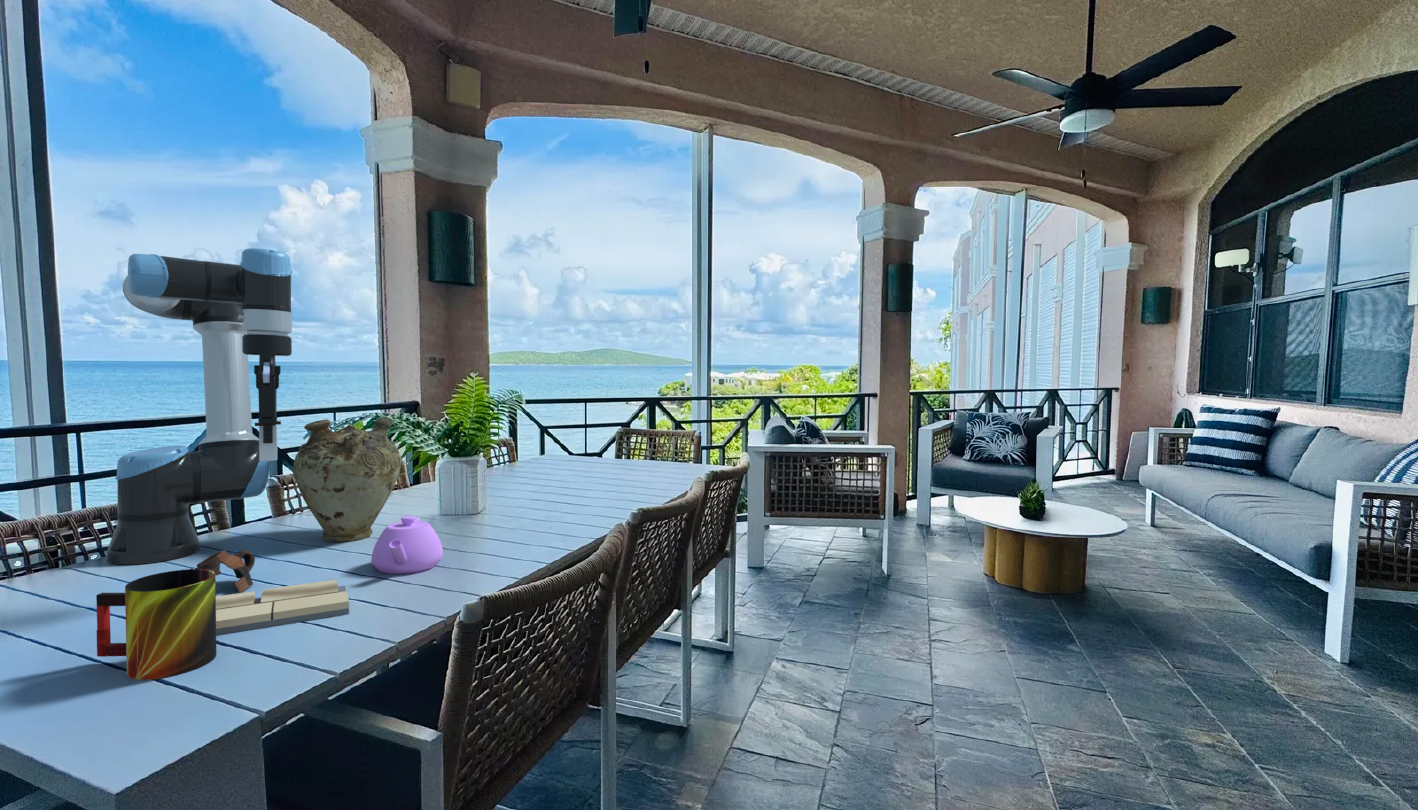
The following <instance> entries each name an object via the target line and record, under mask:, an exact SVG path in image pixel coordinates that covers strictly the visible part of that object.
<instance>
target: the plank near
mask: <svg viewBox="0 0 1418 810" xmlns="http://www.w3.org/2000/svg"><path fill="white" fill-rule="evenodd" d="M255 598H256V590H254V591H248V592H245V591H244V592H242V593H239V592H237V593H232V594H222V595H216V610H219V609H226V608H233V607H240V606H247V605H254V603H255Z"/></svg>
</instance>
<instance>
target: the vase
mask: <svg viewBox="0 0 1418 810" xmlns="http://www.w3.org/2000/svg"><path fill="white" fill-rule="evenodd" d="M330 424H331V420H330V419H327V418H326V419H322V420H321V419H320V420H316V421H312V422H308V423H307V424H305V425H304V426H303V427H304V429H305V430H306V431H308V432H310V435H309V437H308V439H307V441H306V442H305V443H302V444H301V446H300V447H299V448H298V452H297V453H296V455H295V457H294V460H293V466H292V467H293V468H292V475H293V478H294V480H295V481H296V485H297V487H298V490H299V493H300V495H301V497H302V498H303V501H304V502H305V504H306V506H307V507H308V510H310V513H311V514H312V515H313V517H314V518H315V520H316V521H317V522H318V524H319V525H320V527H321V529H322V530H323V532H322V535H321V537H322V539H323V540H324V541H326V542H331V543H344V542H353V541H360V540H362V539H366V538H368V537H371V536H372V534H373V529H372V526H373V525H374V523H375V522H376V519H377V518H378V516H379V514H380V513H381V511H382V509H383V508H384V506H385V505H386V503H387V501H388V500H389V498H390V496H391V494H392V491H393V490H394V488H395V486H396V484H397V480H398V477H399V475H400V473H401V470H402V469H401V468H402V458H401V455H400V451H399V449H398V448H397V445H395V441H392V440H391V439H390V438H389V437H388V431H389V430H390V428H391V426H392V422H391V418H389V417H387V416H381V417H379V418H377V420H376V421H375V422H374V428H372V429H371V430H365V429H359V428H358V427H355V426H354V425H353V424H352V423H349V424H347V426H345V427H343V428H339V429H338V430H334V431H332V430H330V428H329V427H330Z"/></svg>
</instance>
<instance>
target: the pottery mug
mask: <svg viewBox="0 0 1418 810" xmlns="http://www.w3.org/2000/svg"><path fill="white" fill-rule="evenodd" d="M255 562H256V559H255V555H254V554H253V553H252V552H251V551H250V550H247V549H244V550H243V549H241V550H240V551H237V552H236V553H234V554H229V553H228V552H227V551H226V550H225V549H224V550H221V551H218V552H216V553H213V554H212V555H211V556H209V557H207V558H205V559H204V560H202V561H200V562H199V563H197V564H196V567H195V568H192V567H191V568H190V569H205V570H211V571H213V572H215V576H219V575H221V574H222V572H221V570H220V569H221V564H223V565H224V566H226V567H227V568H229V569H230V570H233V572H234V575H235V577H236V579H237V580H236V582H234V583H233V585H234V587H235V588H236V589H237V593H244V592H245V591H246V590H248V588H250V587H251V586H253V584H254V582H253V581H252V576H251V573H250V571H251V570H253V568H254V566H255Z"/></svg>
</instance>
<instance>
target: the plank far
mask: <svg viewBox="0 0 1418 810" xmlns="http://www.w3.org/2000/svg"><path fill="white" fill-rule="evenodd" d="M261 591H262V593H261V596H260V597H261V603H268V602H272V608H273V607H274V602H275V601H281V600H288V599H295V598H302V597H309V596H316V595H323V594H330V593H337V592H338V579H331V580H324V581H315V582H309V583H308V582H306V583H300V584H293V585H286V586H285V585H284V586H279V587H269V588H264V589H262V590H261Z"/></svg>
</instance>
